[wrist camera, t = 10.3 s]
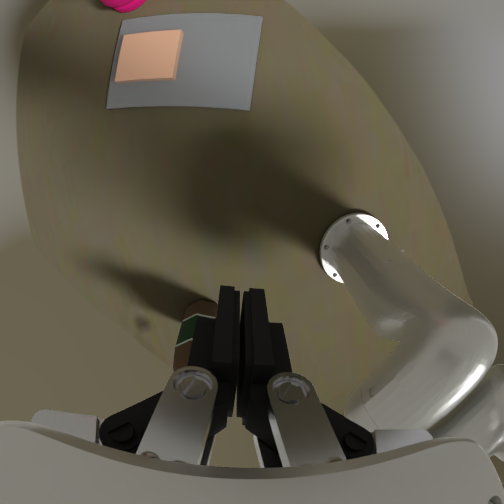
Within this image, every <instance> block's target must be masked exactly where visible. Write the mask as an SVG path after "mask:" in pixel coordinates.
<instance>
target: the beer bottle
mask: <svg viewBox="0 0 504 504" xmlns="http://www.w3.org/2000/svg"><path fill="white" fill-rule="evenodd" d="M217 310H218V305H217V304H216V303H214V302H209V301H205V300H199V301H197V302H195V303H193V304H191V305H190V306H188V307H187V308H186V311H185V314H184V318H183V321H182V325H181V328H180V332H179V336H178V339H177V343H176V347H175V353H174V363H173V370H174V372H175V371H176V370H178V369H180V368H183V367H187V365H188V359H189V354H190V349H191V344H192V339H193V335H194V330H195V325H196V320H197V317H207V318H217Z"/></svg>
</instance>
